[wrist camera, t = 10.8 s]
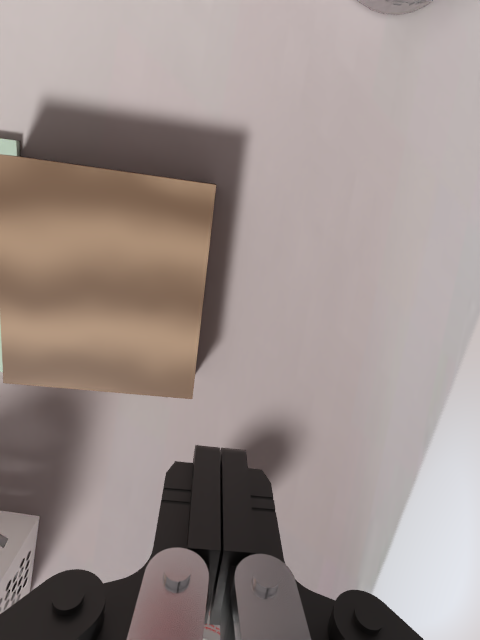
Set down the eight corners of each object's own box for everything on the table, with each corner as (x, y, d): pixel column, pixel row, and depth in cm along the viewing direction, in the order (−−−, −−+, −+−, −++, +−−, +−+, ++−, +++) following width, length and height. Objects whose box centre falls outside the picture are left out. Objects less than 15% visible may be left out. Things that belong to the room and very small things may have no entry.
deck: (19, 156, 29) (-8, 153, 26) (215, 184, 31) (216, 184, 27) (25, 360, 34) (3, 383, 31) (194, 375, 36) (192, 399, 32)
